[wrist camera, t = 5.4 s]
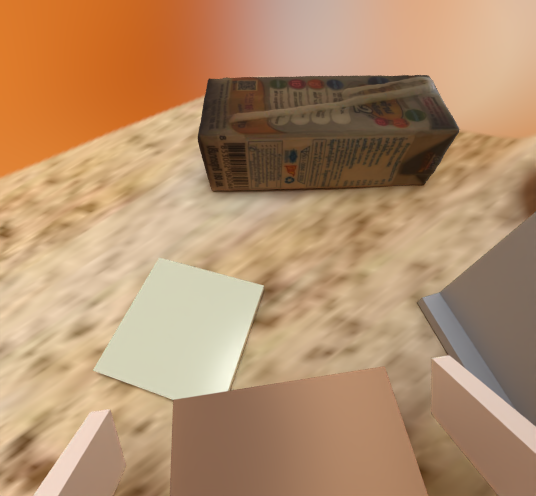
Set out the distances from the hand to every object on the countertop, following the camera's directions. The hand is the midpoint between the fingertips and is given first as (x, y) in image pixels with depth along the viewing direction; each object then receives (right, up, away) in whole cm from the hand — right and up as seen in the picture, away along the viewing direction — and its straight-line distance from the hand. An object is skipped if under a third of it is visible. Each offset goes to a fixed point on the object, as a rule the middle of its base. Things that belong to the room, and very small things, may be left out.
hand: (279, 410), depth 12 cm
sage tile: (-6, +1, +7) cm, 9 cm away
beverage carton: (+4, +15, +16) cm, 22 cm away
